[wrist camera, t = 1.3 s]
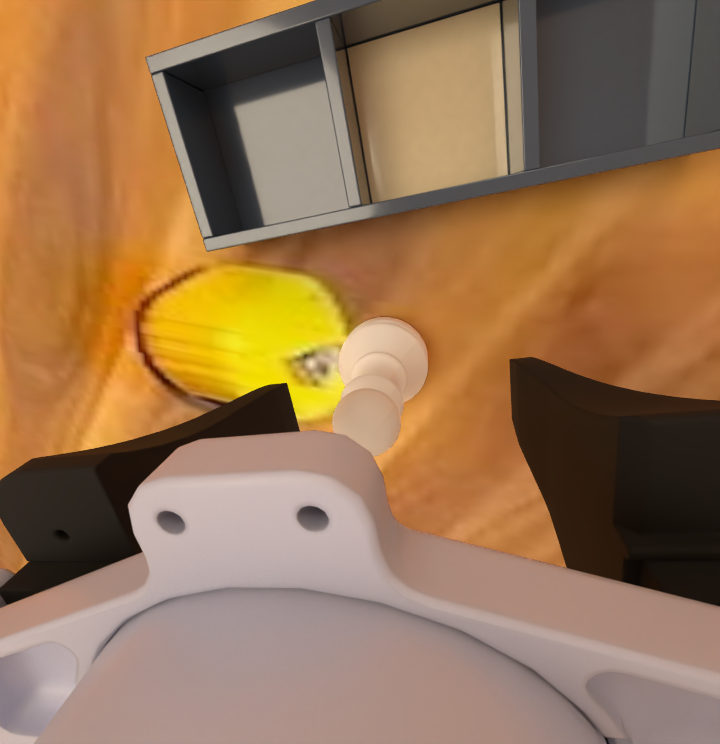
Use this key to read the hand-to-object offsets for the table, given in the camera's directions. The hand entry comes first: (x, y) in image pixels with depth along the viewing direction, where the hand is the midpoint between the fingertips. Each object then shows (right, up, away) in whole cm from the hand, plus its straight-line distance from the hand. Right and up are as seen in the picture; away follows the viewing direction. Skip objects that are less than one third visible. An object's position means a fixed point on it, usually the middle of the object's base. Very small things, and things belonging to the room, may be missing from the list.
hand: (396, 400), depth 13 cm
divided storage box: (+2, +13, +6) cm, 14 cm away
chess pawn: (0, +2, +11) cm, 11 cm away
